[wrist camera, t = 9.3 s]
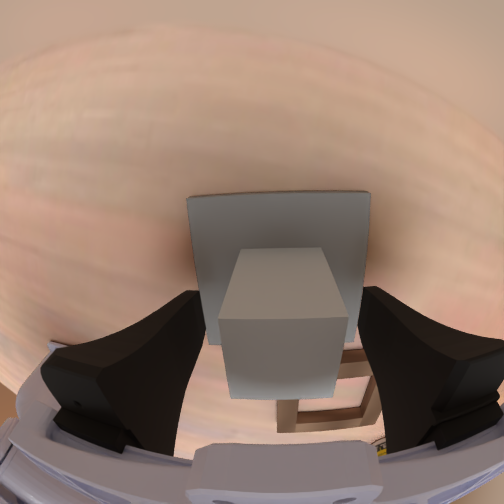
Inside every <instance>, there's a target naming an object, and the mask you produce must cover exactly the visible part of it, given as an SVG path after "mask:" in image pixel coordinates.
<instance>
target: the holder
mask: <svg viewBox="0 0 504 504" xmlns="http://www.w3.org/2000/svg"><path fill="white" fill-rule="evenodd" d="M363 376H371V378H370V381H369V384H368V387H367V390H366V393H365V395H364V398H363V401H362V404H361V406H360V407H356V408H348V409H339V410H329V411H315V412H298V402H299V399H293V400H277V433H294V432H314V431H327V430H337V429H346V428H353V427H360V426H367V425H373V424H375V423H376V421H377V419H378V417H379V415H380V413H381V411H382V407H381V402H380V397H379V392H378V387H377V384H376V381H375V378H374V375H373V372H372V370H371V367H370V364H369V362H368V359H367V356H366V354H365V351H364V349H359V350H348V351H343V352H342V357H341V362H340V367H339V372H338V376H337V379H344V378H354V377H363Z"/></svg>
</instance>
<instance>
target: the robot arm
mask: <svg viewBox="0 0 504 504" xmlns="http://www.w3.org/2000/svg"><path fill="white" fill-rule="evenodd" d="M357 326H358V330H359V335H360V339H361V343H362V346H363V348H364V351H365V354H366V356H367V359H368V362H369V364H370V367H371V370H372V372H373V375H374V378H375V381H376V384H377V387H378V392H379V397H380V402H381V407H382V413H383V420H384V428H385V438H386V455H382V456H378V455H377V450H376V446H374V445H371V444H368V443H366V442H363V441H361V440H353V441H333V442H323V443H309V444H281V445H269V444H241V443H214V444H210V445H208V446H205V447H202V448H200V449H197V450H196V451H195V455H194V459H193V460H189V459H183V458H178V457H173V456H174V447H175V440H176V434H177V428H178V422H179V417H180V412H181V408H182V403H183V399H184V395H185V391H186V388H187V385H188V382H189V379H190V377H191V374H192V371H193V369H194V366H195V364H196V361H197V358H198V356H199V353H200V350H201V348H202V344H203V340H204V336H205V331H206V324H205V319H204V313H203V308H202V302H201V296H200V291H192V290H187V291H185V292H183V293H181V294H180V295H178V296H177V297H175V298H174V299H173V300H171V301H170V302H168V303H167V304H165V305H164V306H163V307H161V308H160V309H158V310H157V311H155V312H153V313H152V314H150V315H149V316H147V317H146V318H144V319H142V320H141V321H139V322H137V323H135V324H133V325H131V326H129V327H127V328H125V329H123V330H121V331H119V332H116V333H114V334H111V335H109V336H106V337H103V338H100V339H97V340H94V341H90V342H87V343H83V344H78V345H73V346H66V345H62V344H59V343H55V342H51V341H49V342H48V344H47V346H48V348H49V350H50V352H49V354H48V355H47V356H46V357H45V358H44V359H43V360H42V362H41V363H40V364H39V365H38V366H37V368H36V369H35V370H34V371H33V372H32V373H31V375H30V376H29V377H28V378H27V380H26V381H25V382H24V383H23V384H22V386H21V387H20V389H19V391H18V394H17V398H16V410H17V414H18V417H19V419H20V420H19V419H18V418H7V420H6V421H5V422H4V423H3V425H2V426H1V427H0V504H449V503H451V502H453V501H455V500H457V499H458V498H461V497H463V496H464V495H466V494H468V493H470V492H472V491H473V490H475V489H477V488H479V487H480V486H482V485H484V484H485V483H487V482H488V481H490V480H492V479H493V478H495V477H496V476H498V475H499V474H501V473H502V472H504V403H503V404H502V405H501V406H499V404H498V402H497V400H498V399H499V398H500V395H499V393H498V392H497V389H498V388H499V386H500V385H501V383H502V381H503V380H504V340H502V339H494V338H487V337H481V336H477V335H473V334H469V333H465V332H462V331H459V330H456V329H453V328H450V327H447V326H445V325H443V324H440V323H438V322H436V321H434V320H432V319H430V318H428V317H426V316H424V315H422V314H420V313H419V312H417V311H415V310H413V309H412V308H410V307H409V306H407V305H405V304H404V303H402V302H401V301H399V300H398V299H396V298H395V297H393V296H392V295H390V294H389V293H387V292H385V291H384V290H382V289H381V288H379V287H377V286H370V287H363V293H362V299H361V306H360V312H359V318H358V324H357Z"/></svg>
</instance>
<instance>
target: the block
mask: <svg viewBox="0 0 504 504" xmlns="http://www.w3.org/2000/svg"><path fill="white" fill-rule="evenodd" d="M348 319H349V316H348V313H347V310H346V308H345V305H344V302H343V300H342V297H341V295H340V292H339V290H338V287H337V285H336V282H335V280H334V277H333V275H332V272H331V270H330V267H329V265H328V263H327V260H326V258H325V256H324V253H323V251H322V249H321V247H313V248H260V249H241V250H240V253H239V256H238V259H237V262H236V265H235V268H234V271H233V274H232V277H231V280H230V283H229V286H228V289H227V292H226V295H225V298H224V301H223V304H222V307H221V310H220V313H219V316H218V325H219V331H220V338H221V344H222V351H223V357H224V363H225V369H226V375H227V381H228V386H229V392H230V397H231V398H232V399H255V400H293V399H316V398H331V397H333V393H334V389H335V385H336V381H337V376H338V372H339V367H340V362H341V357H342V352H343V347H344V342H345V336H346V331H347V325H348Z"/></svg>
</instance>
